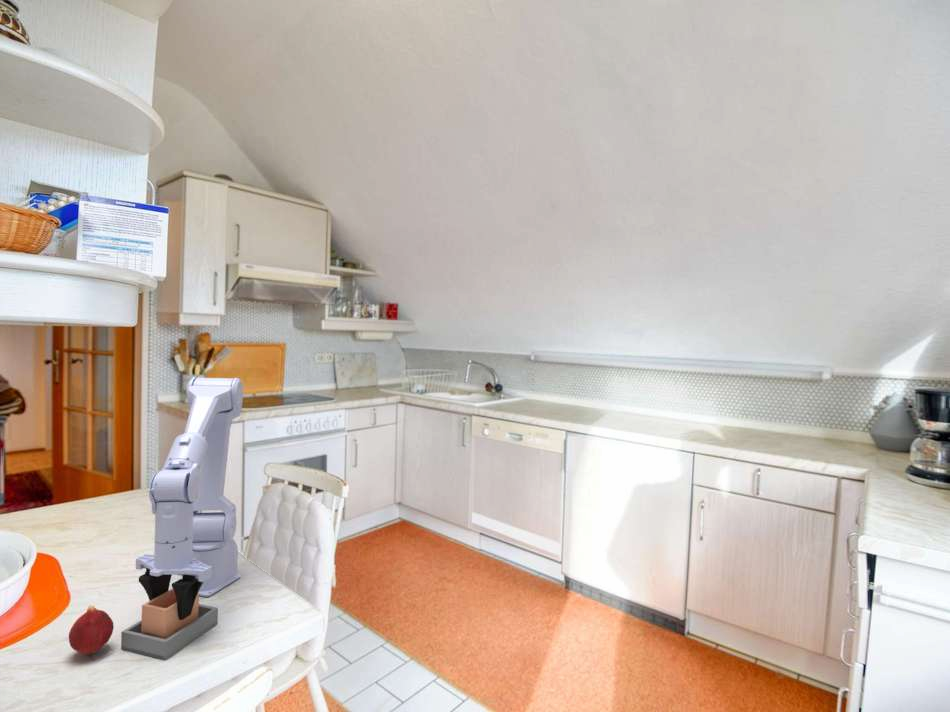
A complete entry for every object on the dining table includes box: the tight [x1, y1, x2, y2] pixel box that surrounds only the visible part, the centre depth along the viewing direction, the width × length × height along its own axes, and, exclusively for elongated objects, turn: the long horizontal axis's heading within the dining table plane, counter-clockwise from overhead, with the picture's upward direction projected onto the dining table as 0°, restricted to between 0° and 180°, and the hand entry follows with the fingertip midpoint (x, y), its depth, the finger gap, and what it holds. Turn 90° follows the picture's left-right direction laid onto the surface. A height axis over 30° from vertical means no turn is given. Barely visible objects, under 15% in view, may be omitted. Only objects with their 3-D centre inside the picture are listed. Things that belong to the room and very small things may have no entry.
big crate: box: [120, 603, 219, 661], centre depth 88 cm, size 11×9×3 cm
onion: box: [67, 605, 115, 656], centre depth 82 cm, size 6×6×8 cm
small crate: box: [141, 588, 200, 639], centre depth 88 cm, size 7×5×5 cm
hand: (172, 614), depth 88 cm, fingers closed on small crate, 5 cm apart
